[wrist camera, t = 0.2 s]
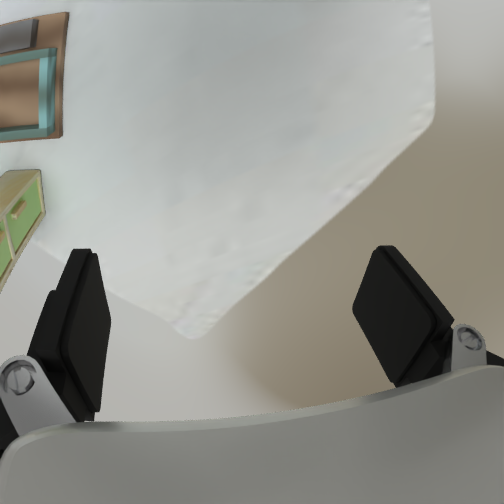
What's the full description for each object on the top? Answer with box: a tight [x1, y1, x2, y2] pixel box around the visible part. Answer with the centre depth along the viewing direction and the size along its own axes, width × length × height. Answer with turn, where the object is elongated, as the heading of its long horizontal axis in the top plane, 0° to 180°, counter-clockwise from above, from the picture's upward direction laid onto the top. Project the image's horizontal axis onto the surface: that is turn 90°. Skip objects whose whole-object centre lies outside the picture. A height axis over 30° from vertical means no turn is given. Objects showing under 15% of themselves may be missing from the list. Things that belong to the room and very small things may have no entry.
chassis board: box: [0, 12, 69, 143], centre depth 30 cm, size 18×14×4 cm
